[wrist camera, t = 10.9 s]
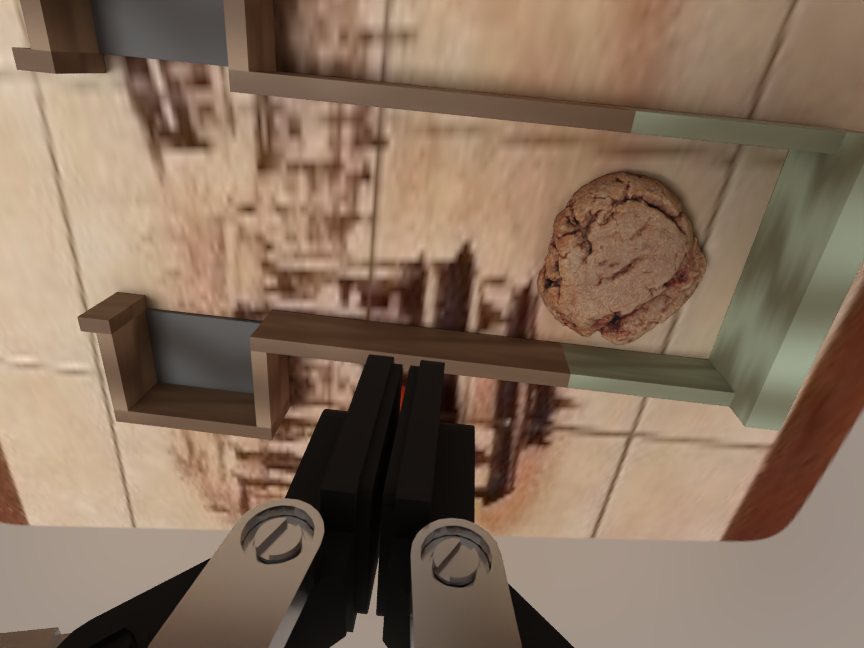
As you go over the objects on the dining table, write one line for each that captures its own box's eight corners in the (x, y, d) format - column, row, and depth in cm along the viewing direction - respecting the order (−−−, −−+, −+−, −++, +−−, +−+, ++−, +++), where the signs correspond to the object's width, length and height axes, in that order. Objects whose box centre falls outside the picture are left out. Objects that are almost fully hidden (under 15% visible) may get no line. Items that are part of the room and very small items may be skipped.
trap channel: (36, -106, 26) (-76, -151, 21) (899, -25, 25) (1015, -51, 20) (136, 387, 40) (83, 437, 34) (700, 455, 38) (736, 517, 33)
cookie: (678, 146, 29) (699, 153, 27) (707, 306, 34) (727, 326, 31) (511, 206, 32) (514, 218, 29) (557, 349, 36) (563, 371, 33)
